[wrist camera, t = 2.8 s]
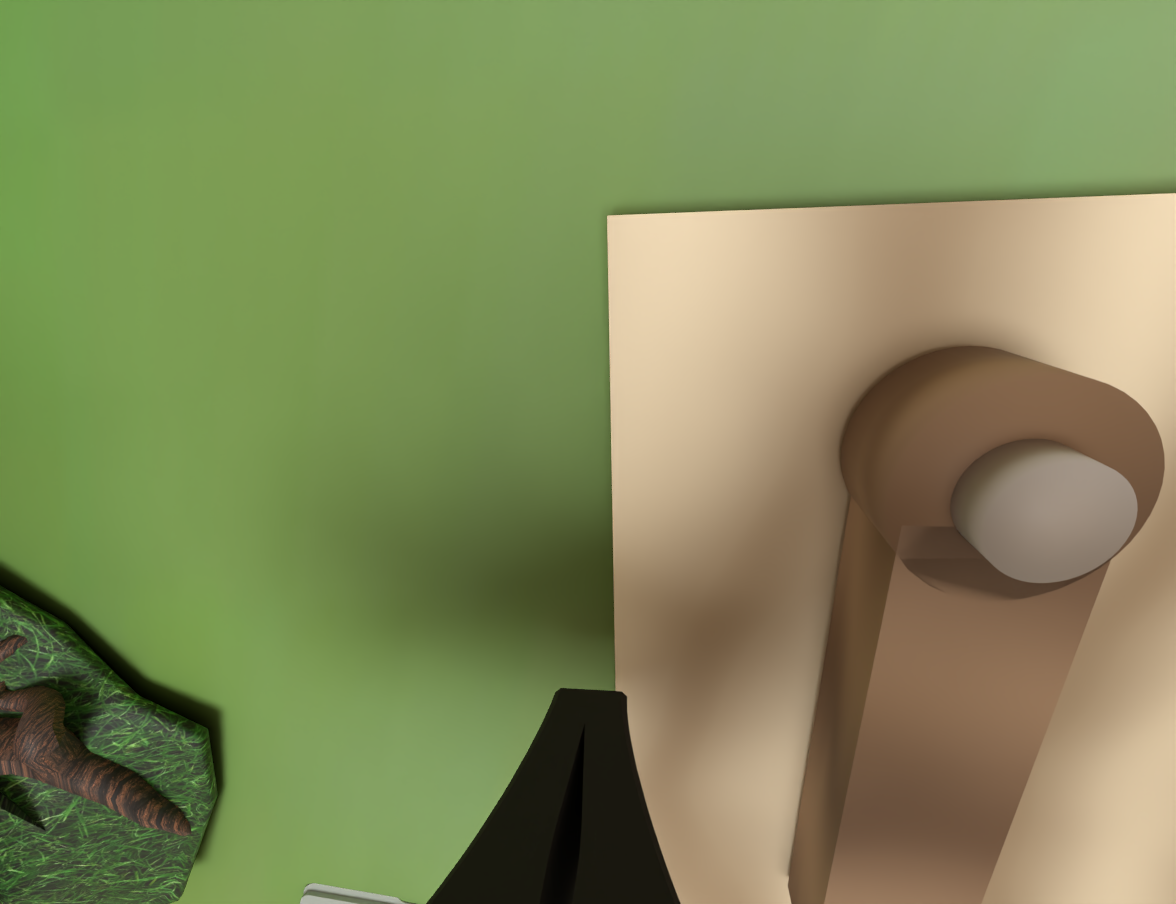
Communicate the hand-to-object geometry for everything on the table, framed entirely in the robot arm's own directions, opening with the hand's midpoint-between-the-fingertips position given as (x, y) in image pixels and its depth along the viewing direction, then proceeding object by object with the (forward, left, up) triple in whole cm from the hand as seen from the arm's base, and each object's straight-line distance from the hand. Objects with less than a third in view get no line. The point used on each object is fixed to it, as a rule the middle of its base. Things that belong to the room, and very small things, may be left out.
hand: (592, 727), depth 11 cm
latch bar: (-6, 0, -2) cm, 7 cm away
